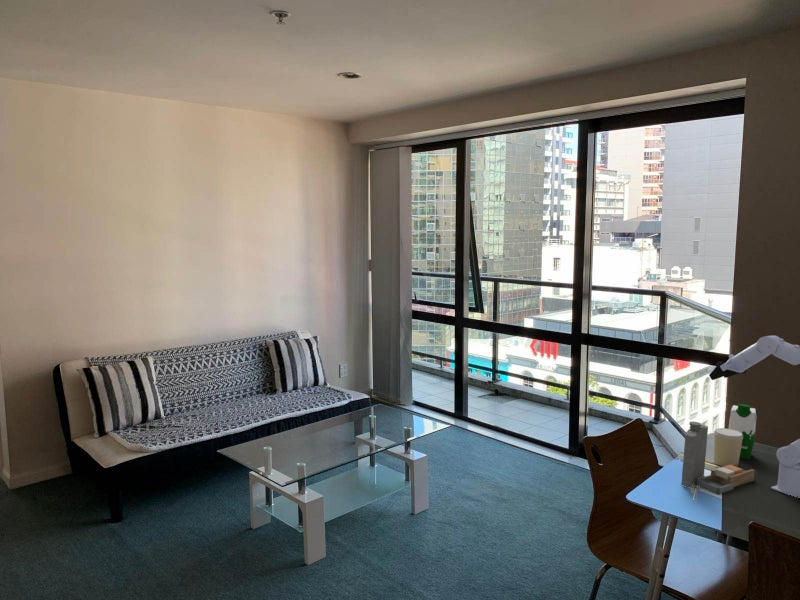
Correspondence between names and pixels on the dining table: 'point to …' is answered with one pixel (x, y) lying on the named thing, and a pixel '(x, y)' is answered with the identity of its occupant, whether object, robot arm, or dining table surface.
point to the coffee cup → (727, 446)
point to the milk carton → (744, 427)
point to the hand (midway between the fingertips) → (717, 376)
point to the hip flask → (694, 453)
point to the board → (734, 477)
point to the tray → (713, 485)
